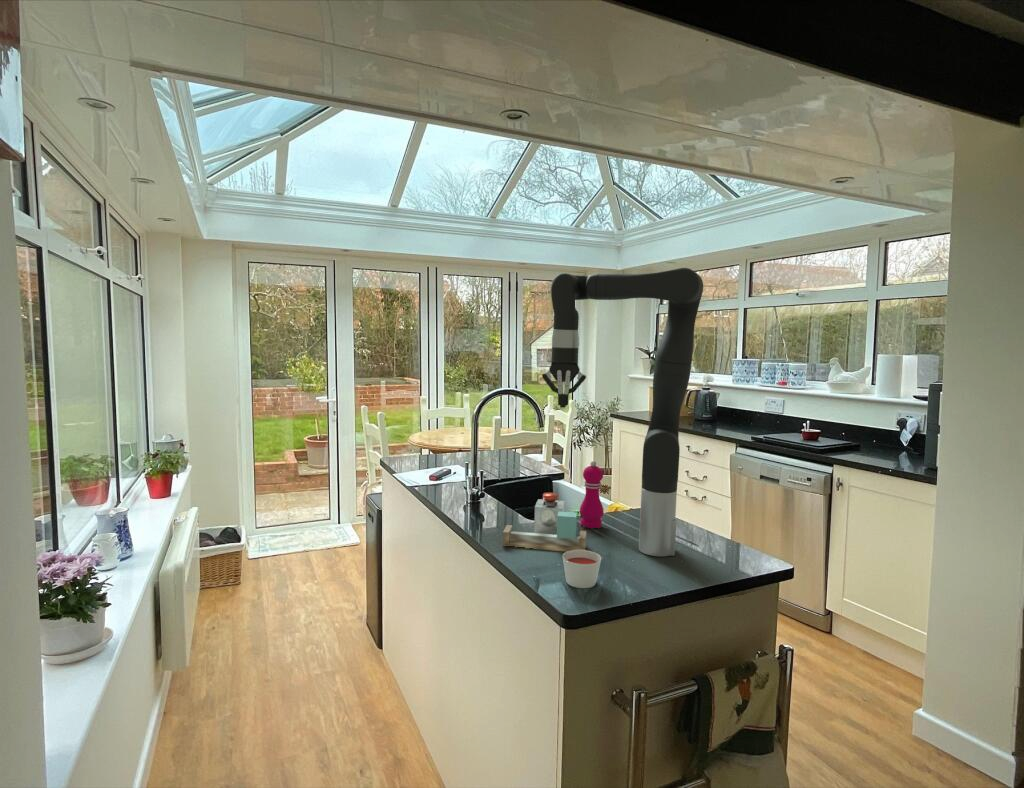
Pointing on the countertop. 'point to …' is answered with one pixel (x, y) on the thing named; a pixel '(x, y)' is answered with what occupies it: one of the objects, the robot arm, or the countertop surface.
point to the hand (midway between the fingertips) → (563, 407)
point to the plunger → (550, 498)
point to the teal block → (566, 525)
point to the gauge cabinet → (547, 517)
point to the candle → (581, 568)
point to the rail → (542, 546)
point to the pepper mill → (592, 497)
